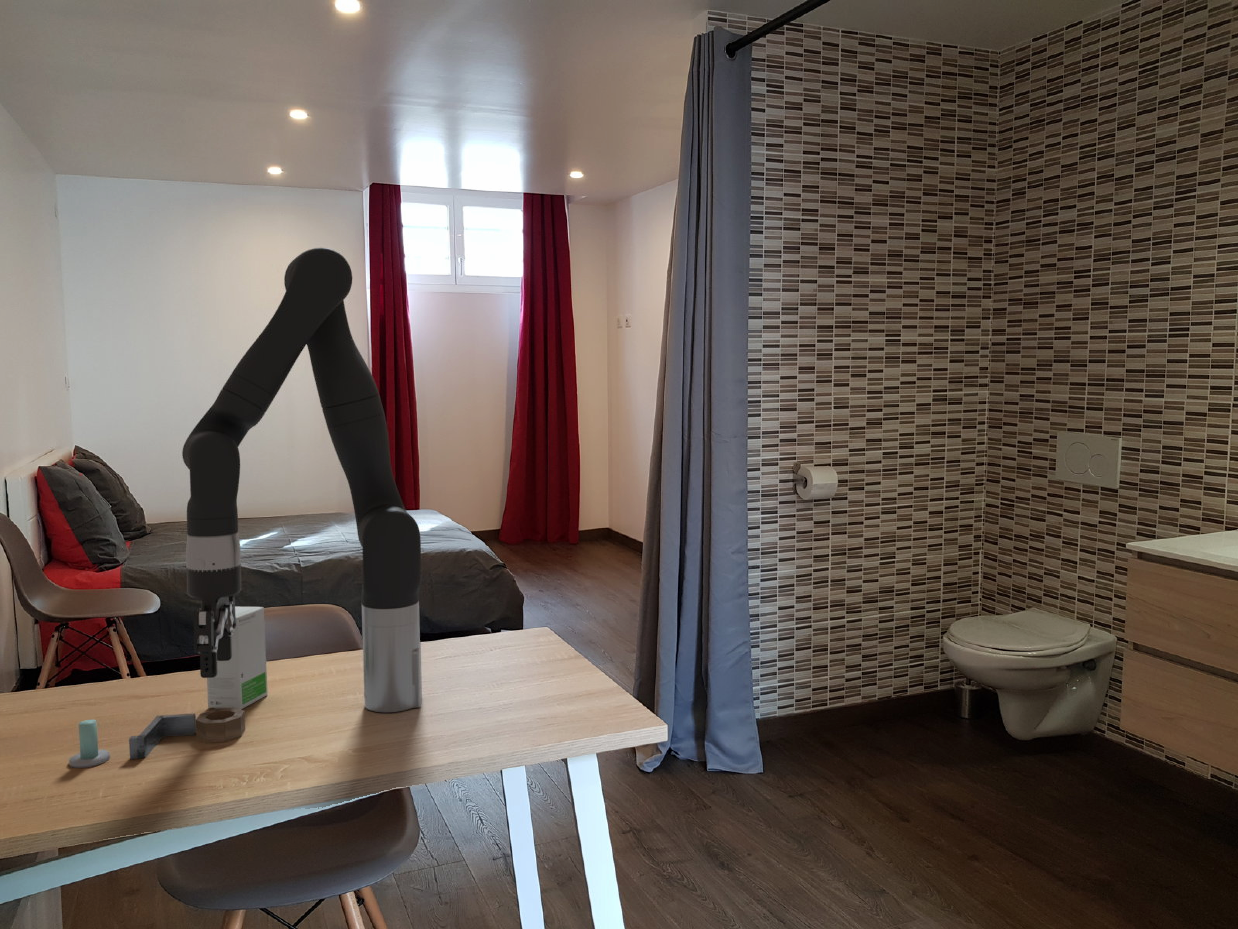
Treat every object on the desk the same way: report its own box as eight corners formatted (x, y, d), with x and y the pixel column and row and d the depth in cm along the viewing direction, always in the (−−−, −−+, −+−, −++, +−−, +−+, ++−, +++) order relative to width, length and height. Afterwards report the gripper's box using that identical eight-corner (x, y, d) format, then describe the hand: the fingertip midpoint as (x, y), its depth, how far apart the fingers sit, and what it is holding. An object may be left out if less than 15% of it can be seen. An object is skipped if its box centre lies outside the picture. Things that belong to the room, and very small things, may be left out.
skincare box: (240, 711, 149) (236, 618, 148) (204, 708, 151) (200, 616, 149) (269, 694, 157) (266, 605, 156) (235, 691, 159) (231, 604, 157)
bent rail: (196, 732, 140) (195, 713, 140) (178, 755, 131) (177, 735, 131) (150, 735, 139) (150, 716, 139) (130, 759, 130) (128, 738, 130)
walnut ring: (248, 725, 143) (247, 706, 143) (238, 740, 137) (237, 721, 137) (204, 728, 142) (203, 709, 142) (192, 743, 136) (192, 724, 136)
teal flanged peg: (115, 752, 133) (113, 715, 132) (101, 766, 128) (99, 727, 127) (77, 754, 132) (75, 717, 131) (63, 769, 127) (60, 730, 126)
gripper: (228, 572, 131) (231, 682, 132) (250, 554, 145) (253, 654, 146) (172, 573, 130) (176, 684, 131) (200, 555, 144) (203, 655, 145)
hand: (216, 668), depth 139 cm, fingers open, 8 cm apart
